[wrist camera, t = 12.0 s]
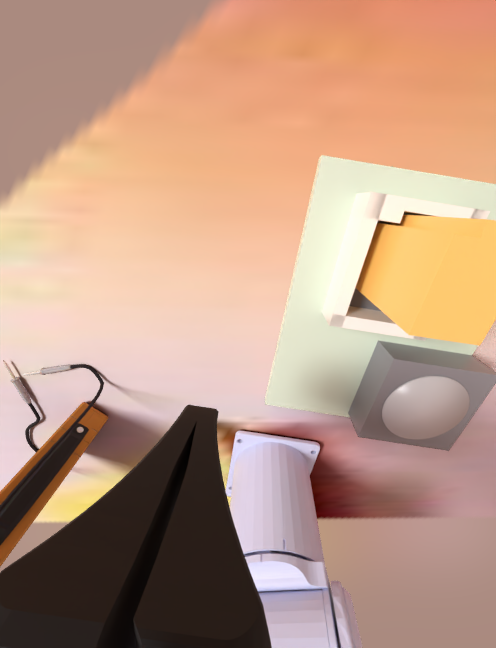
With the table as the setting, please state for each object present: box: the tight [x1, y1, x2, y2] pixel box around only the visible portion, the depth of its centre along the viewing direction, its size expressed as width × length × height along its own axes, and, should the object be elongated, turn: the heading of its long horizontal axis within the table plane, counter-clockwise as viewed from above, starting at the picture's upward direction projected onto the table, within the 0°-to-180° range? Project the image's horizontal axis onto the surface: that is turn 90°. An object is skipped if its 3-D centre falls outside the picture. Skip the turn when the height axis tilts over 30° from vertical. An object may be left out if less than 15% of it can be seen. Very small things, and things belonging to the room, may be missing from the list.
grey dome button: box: [348, 340, 496, 451], centre depth 19 cm, size 7×7×3 cm
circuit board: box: [265, 155, 496, 417], centre depth 18 cm, size 18×14×1 cm
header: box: [322, 192, 490, 341], centre depth 15 cm, size 8×6×2 cm
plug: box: [355, 215, 496, 346], centre depth 13 cm, size 5×3×7 cm, turn 172°
